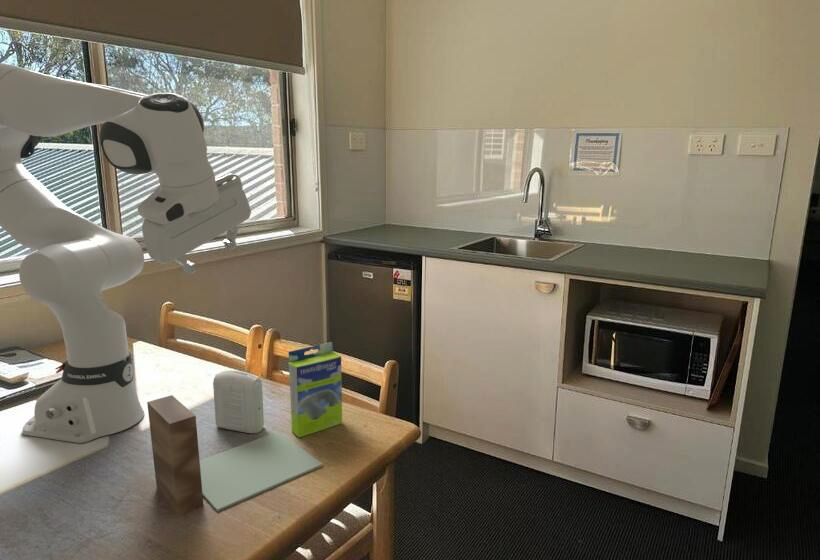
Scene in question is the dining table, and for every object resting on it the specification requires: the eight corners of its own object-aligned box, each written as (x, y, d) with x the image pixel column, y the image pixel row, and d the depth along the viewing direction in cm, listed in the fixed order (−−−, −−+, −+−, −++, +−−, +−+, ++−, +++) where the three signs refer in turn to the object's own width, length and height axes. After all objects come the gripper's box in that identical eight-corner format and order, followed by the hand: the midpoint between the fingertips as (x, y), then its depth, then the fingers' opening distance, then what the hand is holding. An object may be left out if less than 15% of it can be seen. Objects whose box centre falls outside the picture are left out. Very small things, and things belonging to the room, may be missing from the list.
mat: (217, 511, 90) (217, 509, 90) (179, 469, 102) (179, 467, 102) (322, 465, 103) (322, 463, 103) (278, 433, 115) (278, 431, 115)
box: (299, 439, 113) (295, 357, 109) (289, 430, 116) (286, 351, 112) (344, 423, 119) (342, 346, 115) (334, 416, 122) (332, 341, 118)
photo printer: (267, 426, 118) (264, 371, 115) (256, 436, 114) (252, 379, 111) (225, 419, 121) (221, 365, 118) (212, 428, 117) (208, 372, 114)
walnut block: (178, 516, 89) (169, 423, 85) (156, 488, 96) (147, 402, 93) (203, 505, 92) (195, 415, 88) (180, 479, 99) (171, 395, 95)
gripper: (226, 166, 105) (242, 231, 113) (128, 212, 91) (154, 281, 99) (249, 173, 102) (264, 239, 110) (151, 221, 88) (176, 292, 96)
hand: (211, 259), depth 104 cm, fingers open, 8 cm apart
